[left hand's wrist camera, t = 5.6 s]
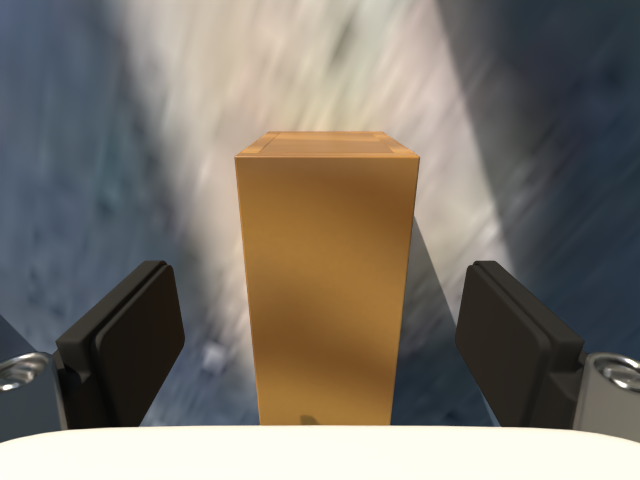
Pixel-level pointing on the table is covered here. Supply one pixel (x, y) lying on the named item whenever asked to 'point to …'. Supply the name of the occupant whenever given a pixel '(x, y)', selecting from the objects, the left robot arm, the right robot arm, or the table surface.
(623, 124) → the table surface
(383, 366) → the cabinet
